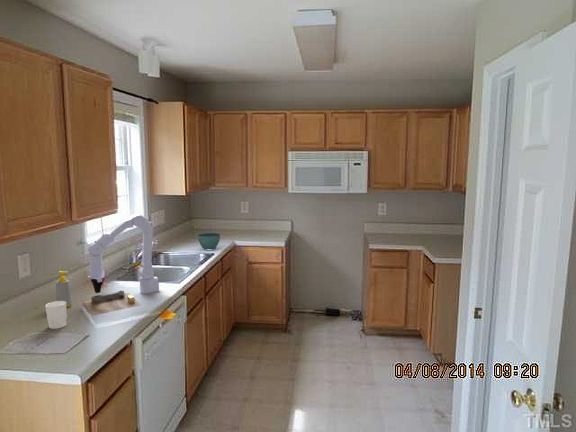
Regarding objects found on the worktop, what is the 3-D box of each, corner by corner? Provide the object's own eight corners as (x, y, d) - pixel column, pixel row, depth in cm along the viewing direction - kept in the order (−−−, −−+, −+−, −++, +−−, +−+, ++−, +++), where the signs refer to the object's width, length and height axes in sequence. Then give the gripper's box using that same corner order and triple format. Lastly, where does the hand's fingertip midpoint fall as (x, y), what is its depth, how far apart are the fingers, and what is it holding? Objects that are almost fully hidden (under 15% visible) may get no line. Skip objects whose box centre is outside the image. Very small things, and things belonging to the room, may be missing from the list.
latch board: (128, 295, 215) (128, 292, 215) (141, 308, 196) (141, 304, 196) (83, 304, 202) (82, 300, 202) (92, 318, 183) (92, 315, 183)
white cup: (71, 324, 176) (69, 303, 175) (52, 331, 169) (50, 308, 168) (62, 321, 180) (60, 299, 179) (43, 326, 174) (41, 304, 173)
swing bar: (123, 295, 209) (123, 289, 209) (125, 296, 207) (124, 291, 206) (91, 301, 200) (90, 295, 200) (92, 303, 198) (91, 297, 197)
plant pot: (213, 246, 345) (213, 232, 343) (224, 249, 331) (224, 234, 329) (194, 249, 333) (193, 234, 332) (204, 252, 319) (204, 237, 318)
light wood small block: (132, 300, 203) (132, 294, 203) (134, 302, 200) (134, 297, 199) (127, 301, 201) (127, 295, 201) (129, 303, 198) (129, 298, 198)
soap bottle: (65, 309, 195) (62, 273, 193) (53, 308, 196) (50, 272, 194) (75, 304, 202) (73, 269, 199) (63, 303, 203) (61, 269, 201)
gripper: (84, 265, 207) (86, 290, 208) (90, 271, 195) (92, 297, 197) (99, 263, 211) (101, 288, 212) (105, 268, 199) (107, 295, 201)
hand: (97, 292), depth 205 cm, fingers closed
